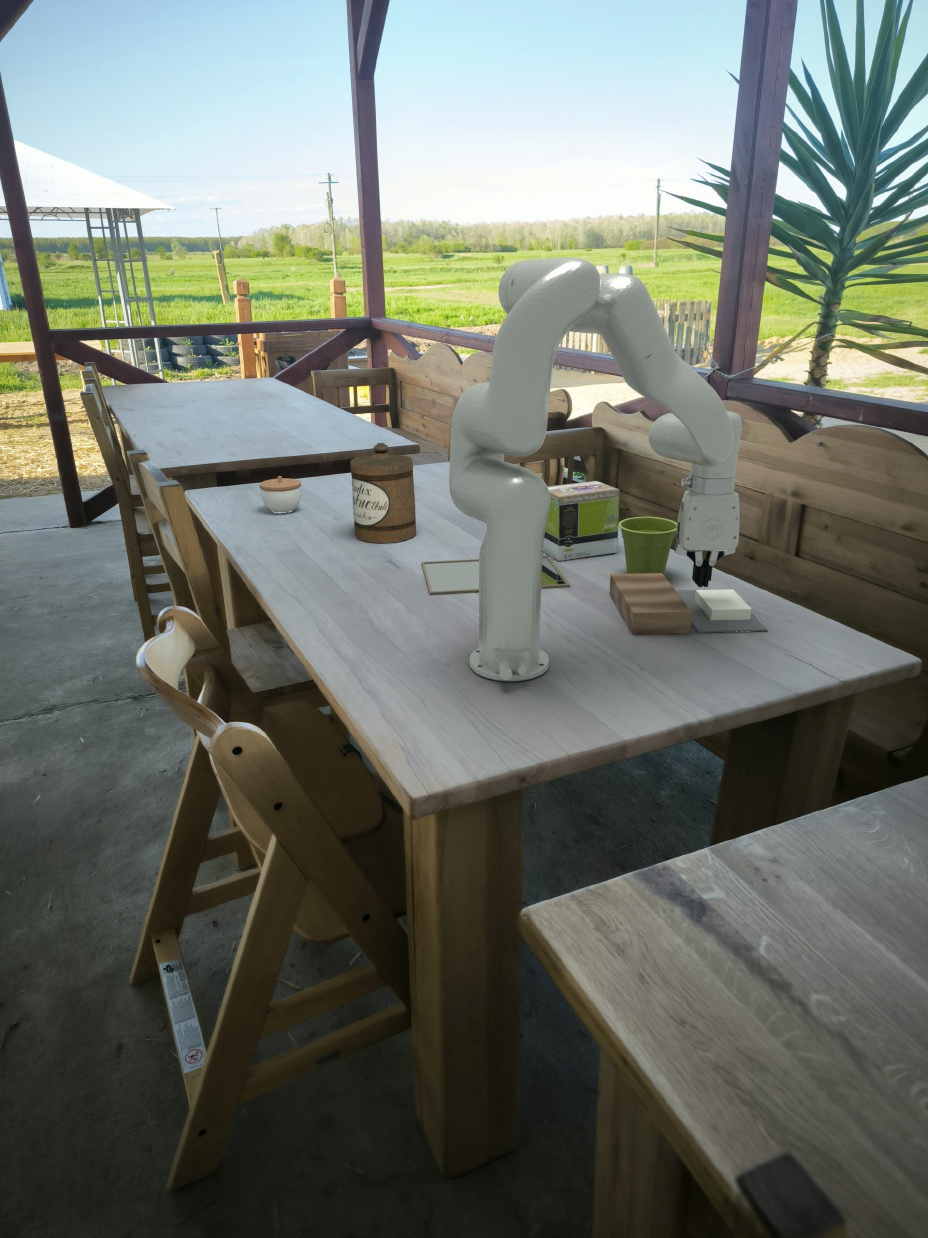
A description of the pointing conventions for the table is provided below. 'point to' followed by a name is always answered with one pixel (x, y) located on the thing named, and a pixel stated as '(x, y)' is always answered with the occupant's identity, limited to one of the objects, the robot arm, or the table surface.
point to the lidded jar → (281, 494)
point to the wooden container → (383, 497)
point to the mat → (707, 625)
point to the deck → (649, 604)
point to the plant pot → (647, 543)
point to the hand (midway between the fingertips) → (700, 584)
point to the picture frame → (477, 576)
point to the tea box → (582, 520)
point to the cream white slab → (723, 605)
